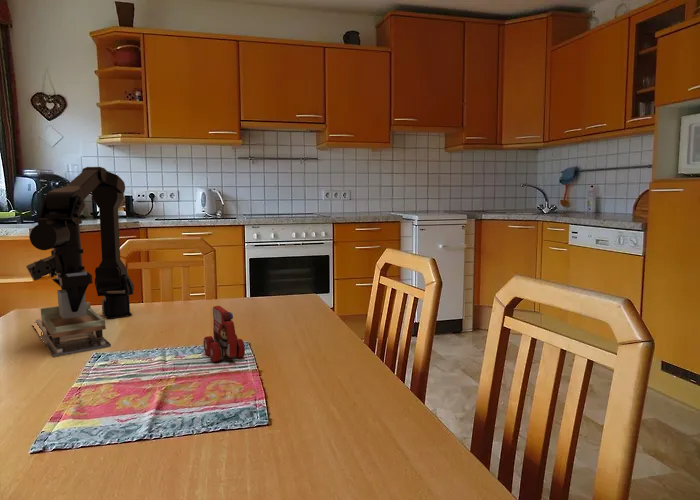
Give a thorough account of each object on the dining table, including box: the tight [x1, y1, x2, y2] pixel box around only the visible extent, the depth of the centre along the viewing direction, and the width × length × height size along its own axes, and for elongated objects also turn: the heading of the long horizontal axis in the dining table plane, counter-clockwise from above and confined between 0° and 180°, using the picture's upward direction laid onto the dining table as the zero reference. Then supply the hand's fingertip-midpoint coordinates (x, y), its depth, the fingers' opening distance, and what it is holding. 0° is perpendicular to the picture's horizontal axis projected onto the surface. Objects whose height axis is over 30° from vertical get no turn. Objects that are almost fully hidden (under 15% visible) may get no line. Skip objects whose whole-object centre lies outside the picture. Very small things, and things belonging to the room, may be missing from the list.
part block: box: [56, 289, 87, 319], centre depth 126 cm, size 5×5×6 cm
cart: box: [40, 301, 107, 345], centre depth 127 cm, size 11×16×6 cm
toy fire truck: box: [203, 305, 246, 363], centre depth 116 cm, size 7×12×10 cm, turn 29°
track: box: [35, 319, 112, 357], centre depth 133 cm, size 12×34×1 cm, turn 38°
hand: (72, 309), depth 126 cm, fingers closed on part block, 5 cm apart
